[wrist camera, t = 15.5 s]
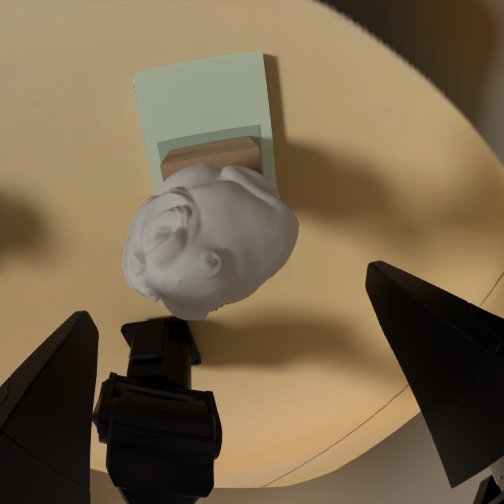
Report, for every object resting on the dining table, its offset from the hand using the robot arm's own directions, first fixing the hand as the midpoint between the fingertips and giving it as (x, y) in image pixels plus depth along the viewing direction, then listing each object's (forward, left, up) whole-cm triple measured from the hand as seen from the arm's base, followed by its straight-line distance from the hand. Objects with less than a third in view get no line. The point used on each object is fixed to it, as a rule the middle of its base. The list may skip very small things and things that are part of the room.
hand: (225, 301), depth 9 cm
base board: (+2, 0, -13) cm, 13 cm away
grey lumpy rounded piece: (0, 0, -8) cm, 8 cm away
